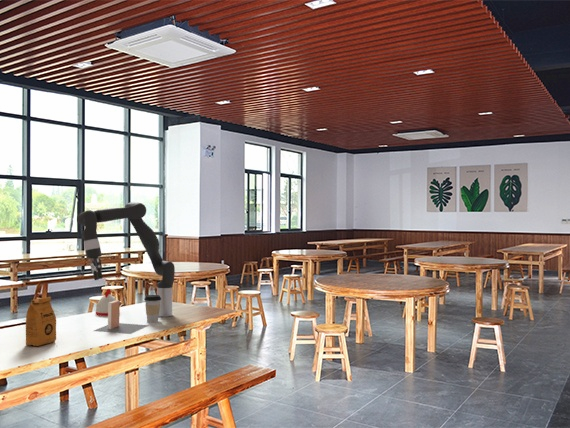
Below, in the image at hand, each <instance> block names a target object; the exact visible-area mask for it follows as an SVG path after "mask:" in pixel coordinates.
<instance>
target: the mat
mask: <svg viewBox="0 0 570 428" xmlns="http://www.w3.org/2000/svg"><path fill="white" fill-rule="evenodd" d="M147 327H149V324H137V323H136V324H135V323H134V324H133V323H123V322H121V323H120V322H119V326H117V327H115V328H113V329H108V324H106V325H104V326H101V327H99V328H97V329H94V330H93V332H99V333H101V332H102V333H114V334H127V335H131V334H134V333H136V332H138V331H141V330H143V329H144V328H147Z"/></svg>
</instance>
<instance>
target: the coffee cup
mask: <svg viewBox="0 0 570 428" xmlns="http://www.w3.org/2000/svg"><path fill="white" fill-rule="evenodd" d="M160 300H161V297H160V296H159V295H157V294H148V295H145V297H144V301H145V305H144V306H145V315H146V321H147V323H157V322H158V321H159V318H160V316H159V311H160Z"/></svg>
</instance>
